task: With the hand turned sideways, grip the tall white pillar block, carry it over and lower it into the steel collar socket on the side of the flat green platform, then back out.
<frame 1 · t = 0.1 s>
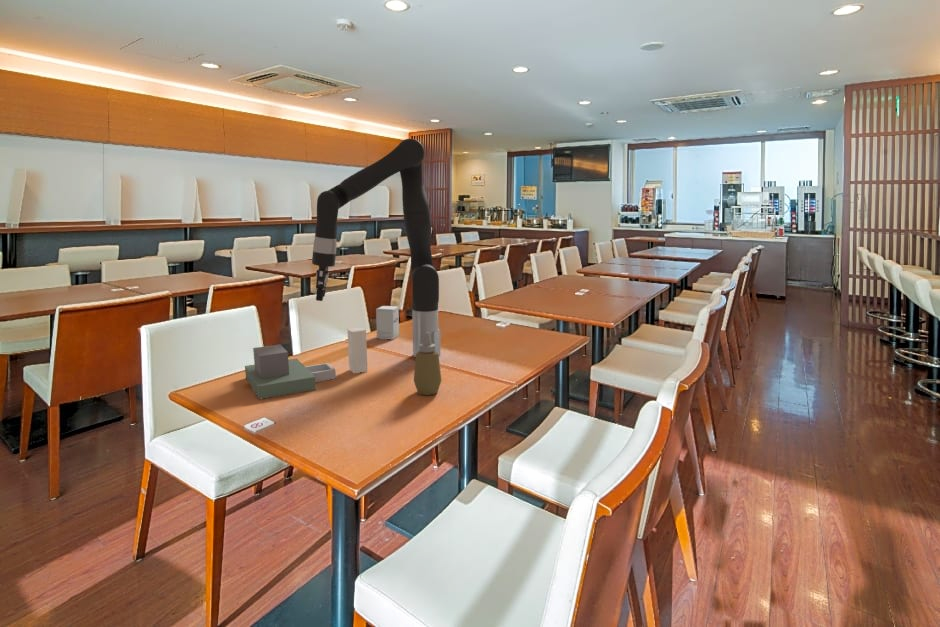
hand: (320, 298, 181), 22 cm above the table, tool pointing down, fingers open, 8 cm apart
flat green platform: (279, 383, 162), on the table
tall white pillar block: (358, 370, 175), on the table
supplement box: (388, 337, 218), on the table
squeeze bottle: (427, 393, 155), on the table
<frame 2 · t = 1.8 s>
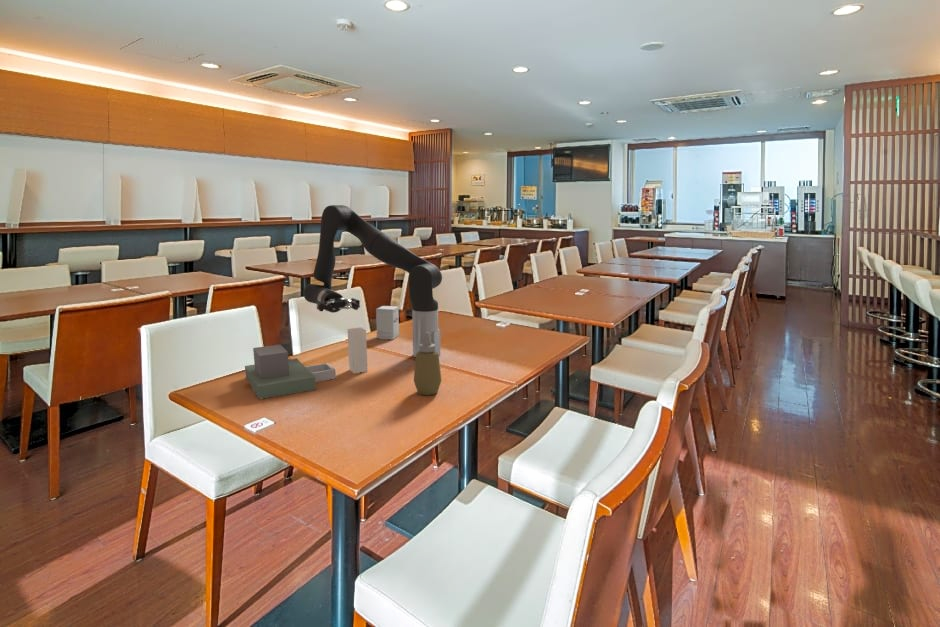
hand: (344, 308, 180), 19 cm above the table, tool horizontal, fingers open, 8 cm apart
nothing on the table moved.
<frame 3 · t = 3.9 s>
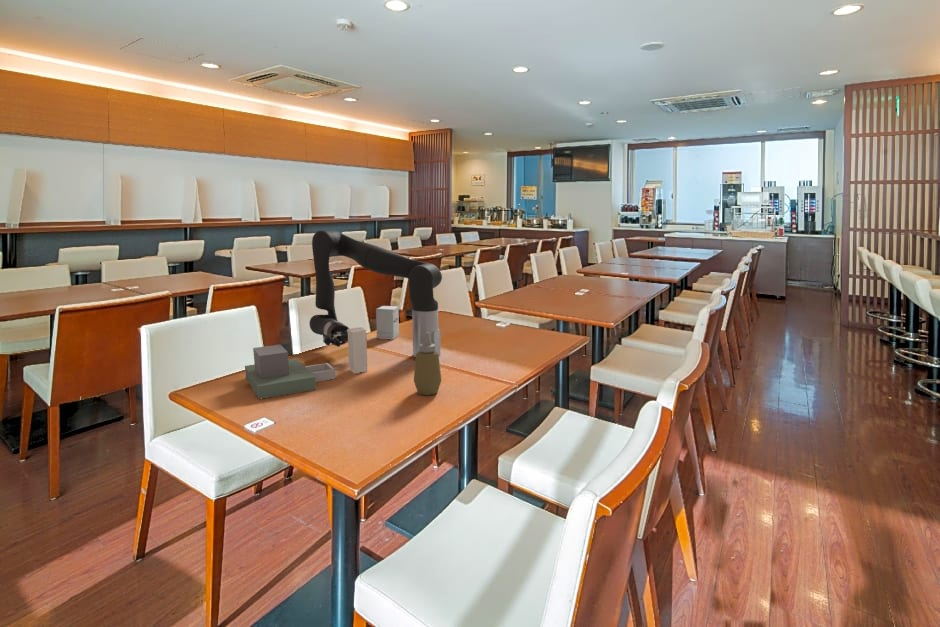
hand: (351, 342, 178), 8 cm above the table, tool horizontal, fingers open, 8 cm apart
nothing on the table moved.
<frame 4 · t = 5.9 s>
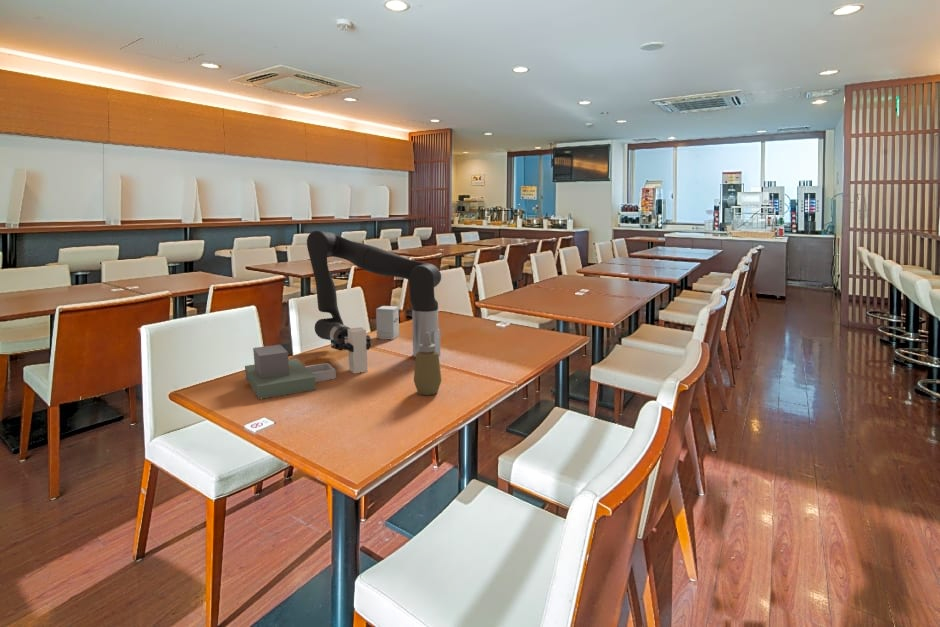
hand: (360, 347, 171), 8 cm above the table, tool horizontal, fingers closed on tall white pillar block, 4 cm apart
tall white pillar block: (358, 370, 175), on the table, touching gripper
everything else where it was.
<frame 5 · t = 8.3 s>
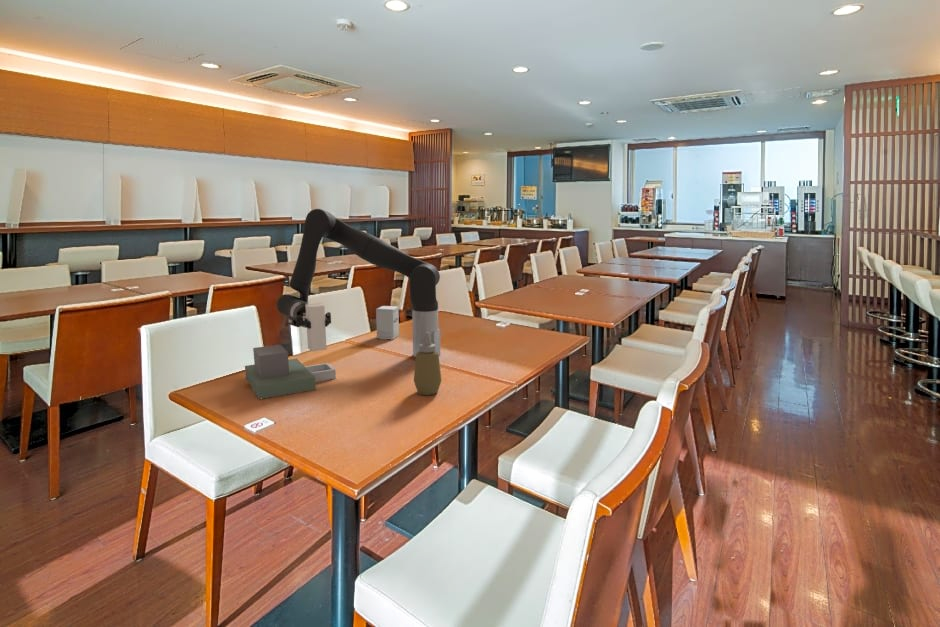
hand: (318, 324, 162), 18 cm above the table, tool horizontal, fingers closed on tall white pillar block, 4 cm apart
tall white pillar block: (317, 348, 166), point 9 cm above the table, touching gripper
everything else where it was.
when the fingers open (10 cm above the table, at t = 10.5 s): tall white pillar block drops 1 cm, resting in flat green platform.
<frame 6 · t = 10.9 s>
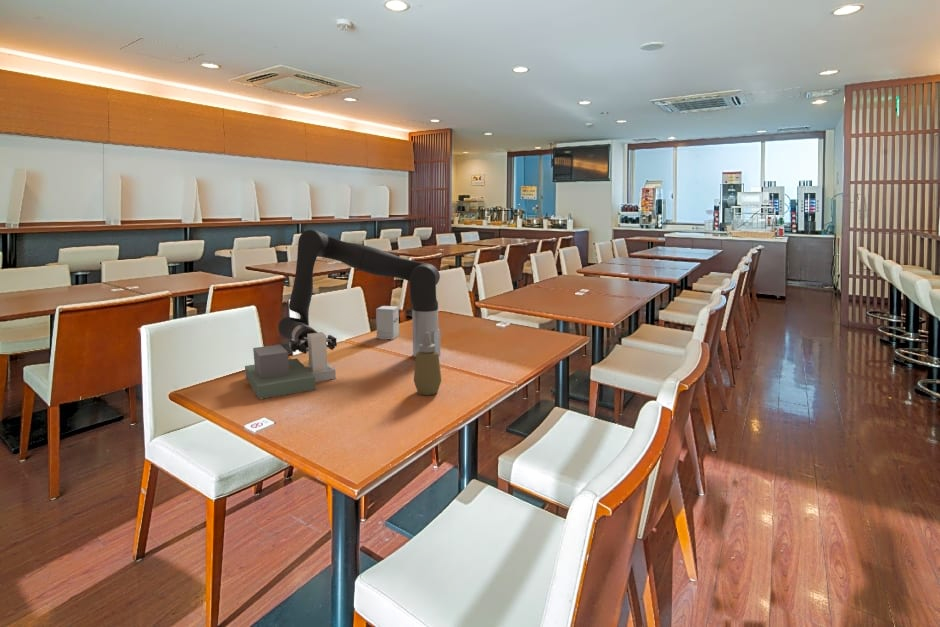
hand: (319, 348, 164), 10 cm above the table, tool horizontal, fingers open, 8 cm apart
tall white pillar block: (319, 377, 168), resting in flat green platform
everything else where it was.
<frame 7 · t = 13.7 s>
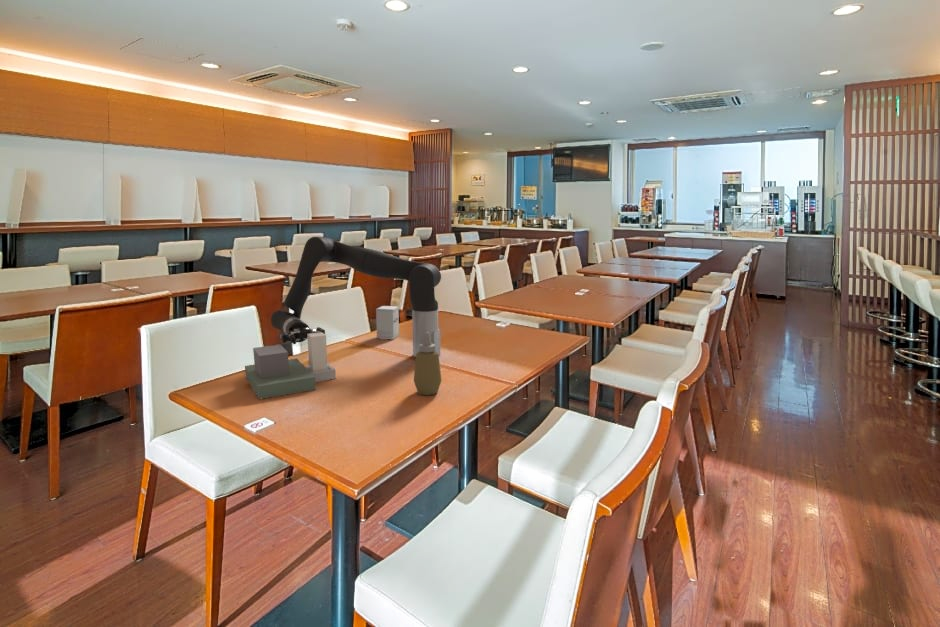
hand: (308, 339, 175), 10 cm above the table, tool horizontal, fingers open, 8 cm apart
nothing on the table moved.
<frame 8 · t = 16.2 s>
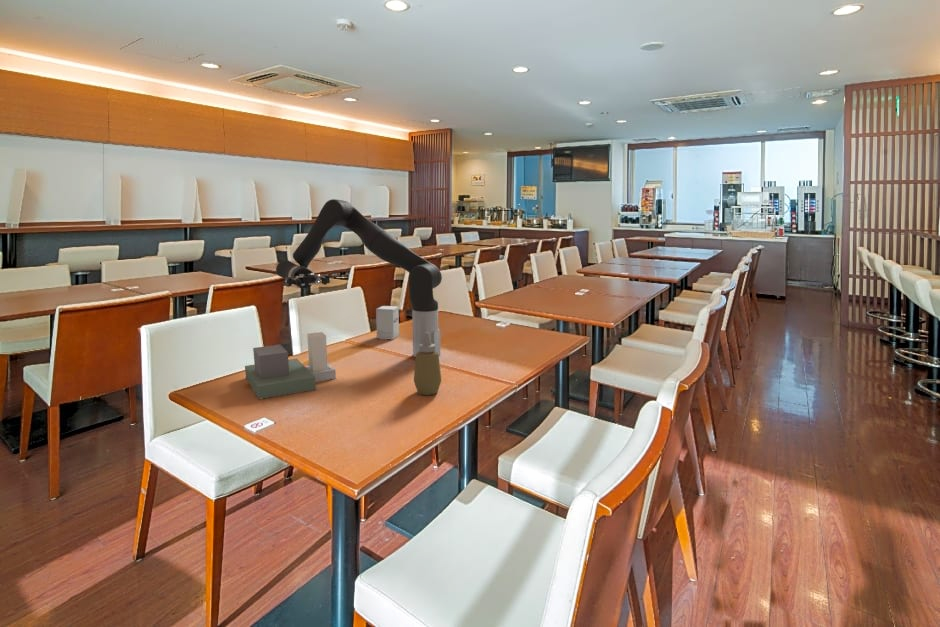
hand: (313, 282, 178), 28 cm above the table, tool horizontal, fingers open, 8 cm apart
nothing on the table moved.
at the end: tall white pillar block 0.1 cm from the target spot, resting in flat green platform; tall white pillar block tilted 0°; the gripper is holding nothing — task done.
